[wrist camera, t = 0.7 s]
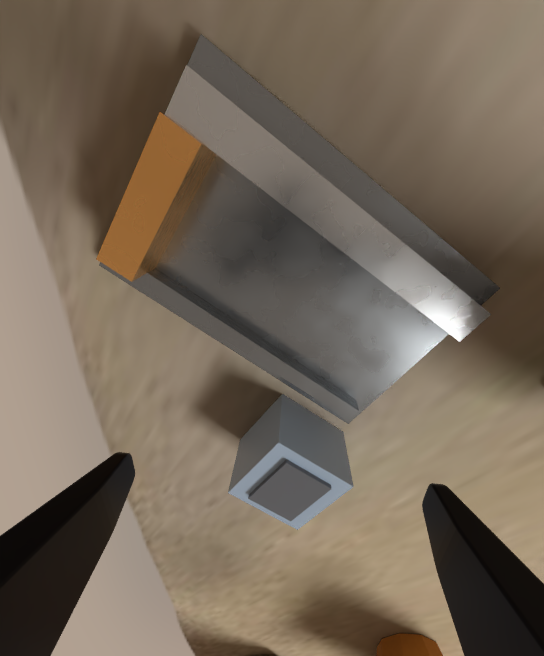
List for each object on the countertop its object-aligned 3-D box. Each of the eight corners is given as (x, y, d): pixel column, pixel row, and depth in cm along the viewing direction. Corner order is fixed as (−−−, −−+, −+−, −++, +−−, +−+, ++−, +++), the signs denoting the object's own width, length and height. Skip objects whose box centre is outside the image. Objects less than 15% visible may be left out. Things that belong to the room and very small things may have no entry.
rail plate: (490, 283, 18) (537, 306, 15) (346, 414, 23) (355, 456, 20) (206, 43, 15) (176, -5, 11) (108, 261, 20) (65, 278, 16)
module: (342, 430, 24) (354, 490, 19) (297, 471, 26) (297, 534, 22) (282, 392, 23) (278, 446, 18) (240, 438, 25) (227, 496, 21)
